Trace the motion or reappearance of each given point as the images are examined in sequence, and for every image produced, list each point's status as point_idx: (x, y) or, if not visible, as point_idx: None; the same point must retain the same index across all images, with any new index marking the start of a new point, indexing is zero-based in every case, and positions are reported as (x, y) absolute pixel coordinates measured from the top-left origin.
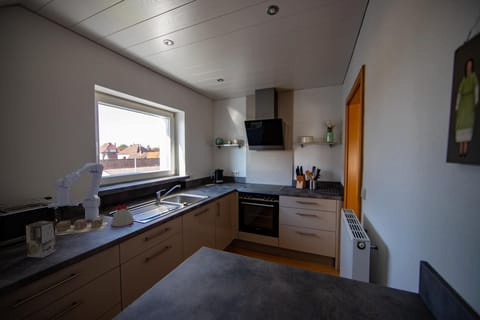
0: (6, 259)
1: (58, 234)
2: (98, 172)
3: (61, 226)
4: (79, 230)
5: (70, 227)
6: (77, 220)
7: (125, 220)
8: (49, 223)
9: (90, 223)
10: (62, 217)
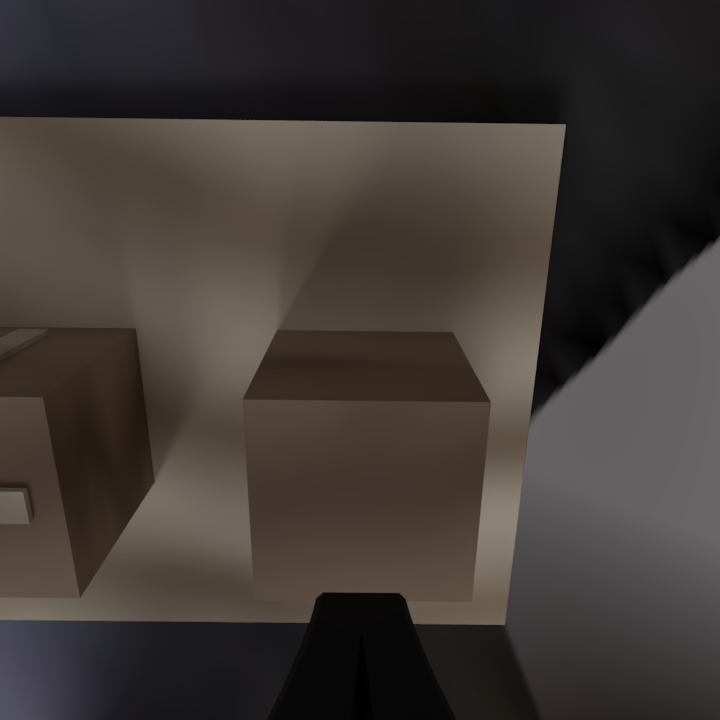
0: None
1: (349, 155)
2: None
3: (365, 370)
4: (6, 261)
5: None
6: (57, 552)
7: None
8: None
9: (5, 600)
10: (376, 599)
